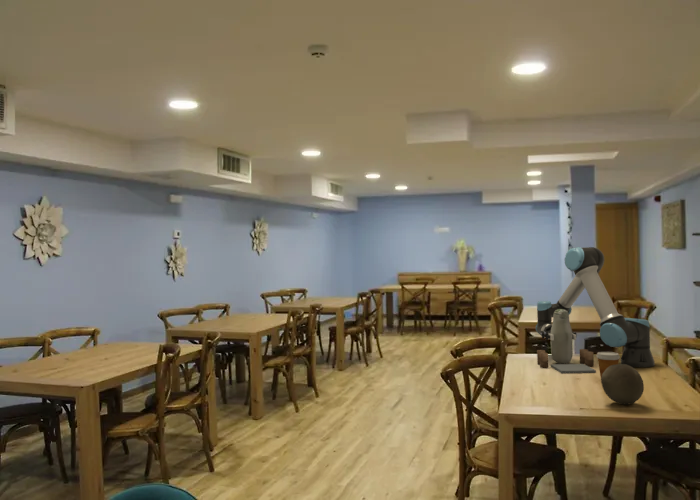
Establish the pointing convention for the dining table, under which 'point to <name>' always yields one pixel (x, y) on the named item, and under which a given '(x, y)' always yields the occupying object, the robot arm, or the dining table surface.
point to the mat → (572, 368)
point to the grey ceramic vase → (561, 337)
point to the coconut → (622, 384)
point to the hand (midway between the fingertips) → (564, 337)
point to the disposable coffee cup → (607, 360)
